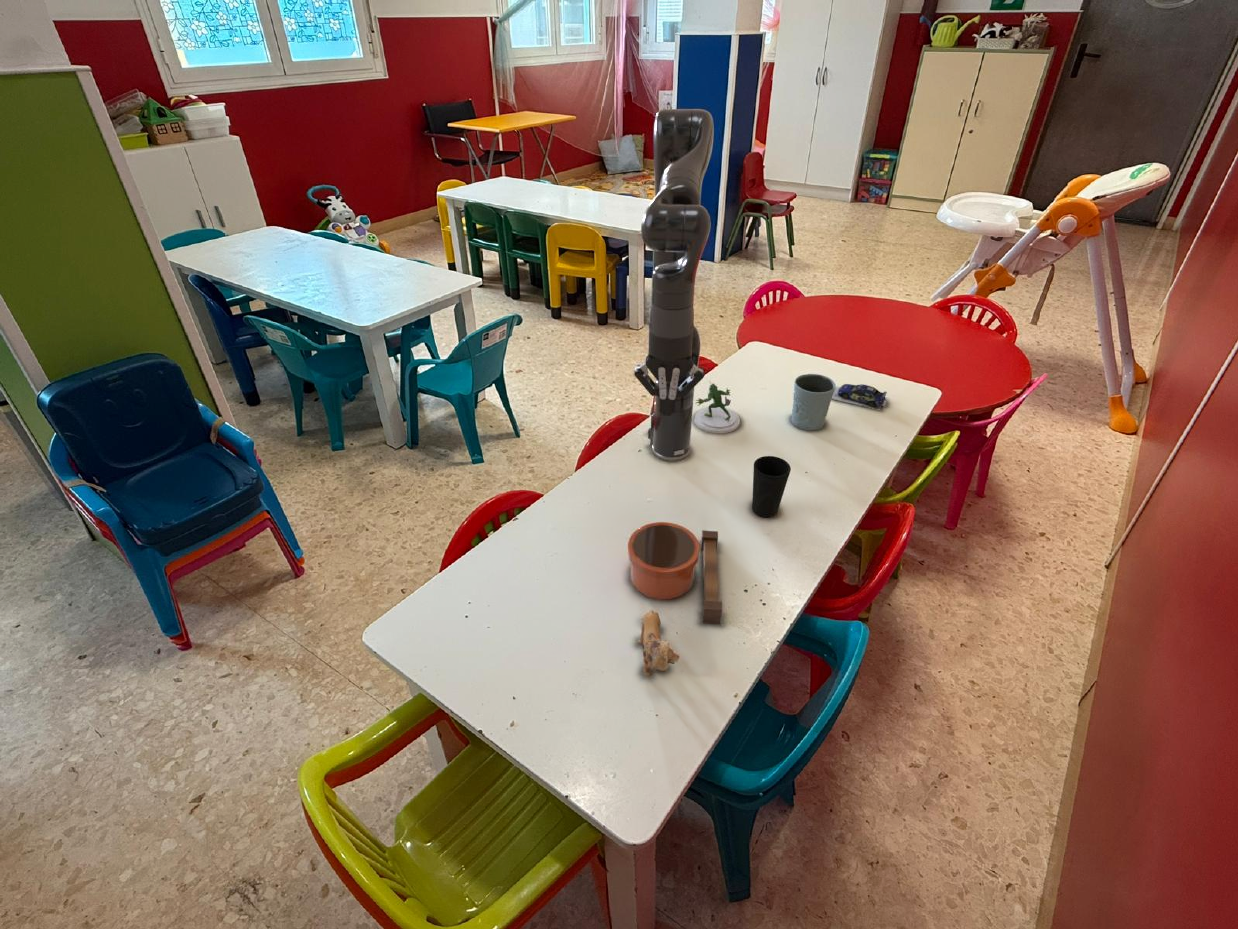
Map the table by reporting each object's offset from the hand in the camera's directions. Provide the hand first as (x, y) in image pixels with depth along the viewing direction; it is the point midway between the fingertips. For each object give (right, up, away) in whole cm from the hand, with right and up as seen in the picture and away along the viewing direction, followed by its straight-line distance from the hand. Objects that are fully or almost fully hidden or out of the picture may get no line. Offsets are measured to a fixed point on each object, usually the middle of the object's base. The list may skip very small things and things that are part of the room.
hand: (666, 413), depth 118 cm
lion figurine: (-3, -43, -9) cm, 44 cm away
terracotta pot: (-1, -31, +6) cm, 32 cm away
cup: (+23, -20, +22) cm, 38 cm away
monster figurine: (+17, +2, +52) cm, 55 cm away
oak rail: (+9, -32, +5) cm, 34 cm away
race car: (+59, +9, +61) cm, 85 cm away
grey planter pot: (+41, +2, +51) cm, 66 cm away
